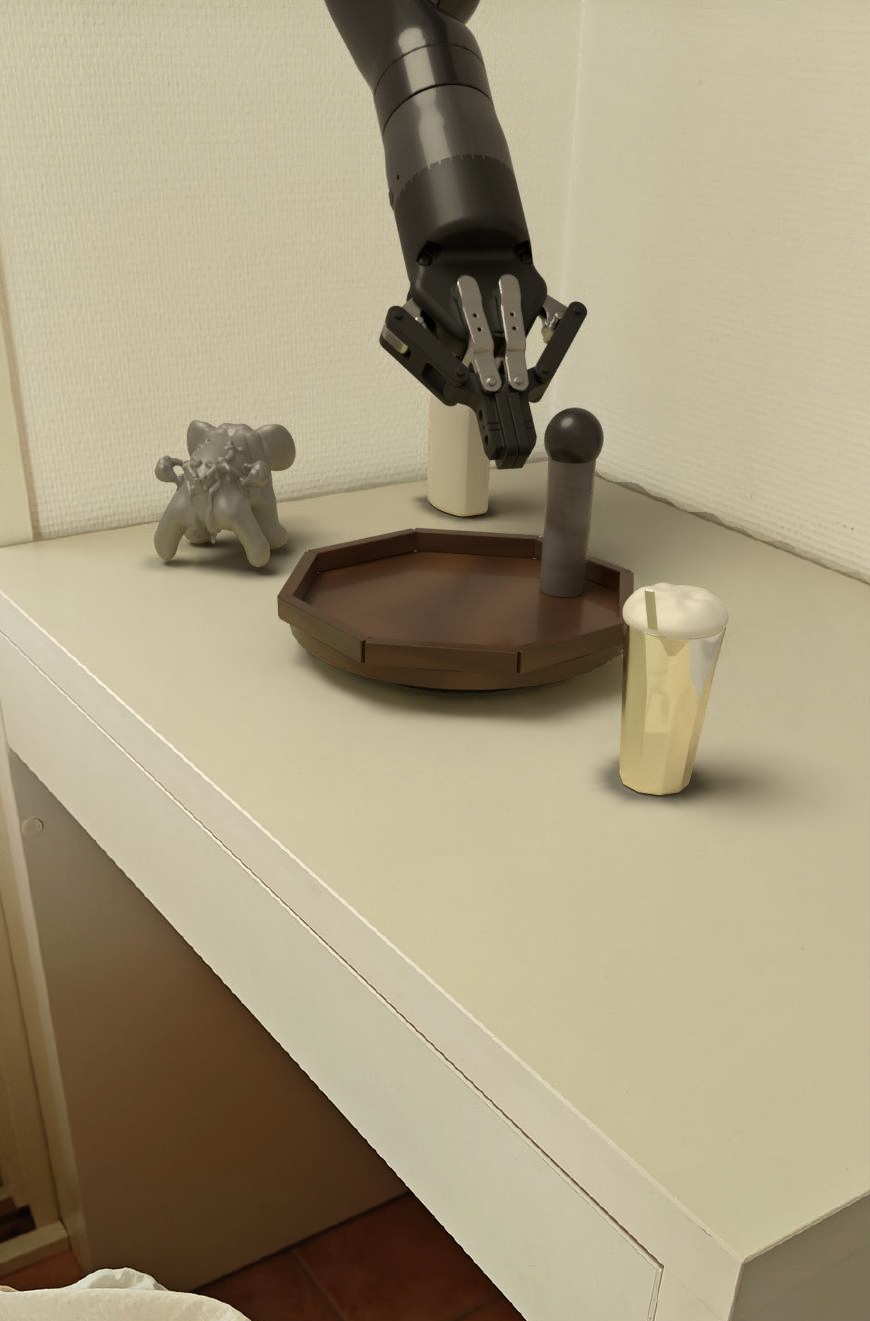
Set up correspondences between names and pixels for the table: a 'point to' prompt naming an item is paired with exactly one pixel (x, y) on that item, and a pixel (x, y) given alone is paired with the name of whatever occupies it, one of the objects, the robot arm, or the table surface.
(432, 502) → the eye dropper bottle
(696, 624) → the milkshake
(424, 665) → the tray
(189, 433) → the gray elephant figurine
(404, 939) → the table surface
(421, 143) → the robot arm
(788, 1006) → the table surface
